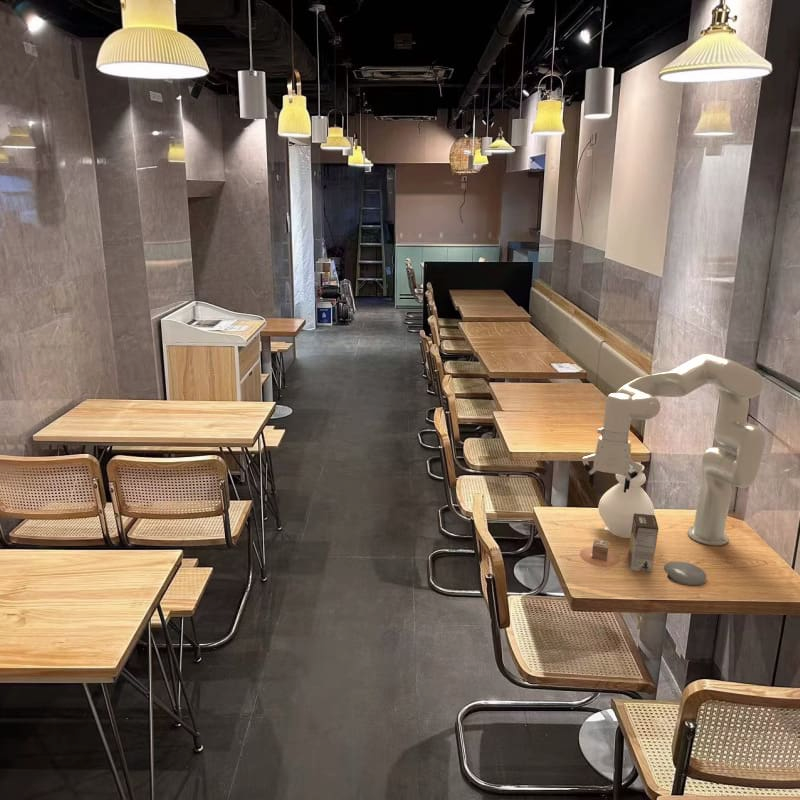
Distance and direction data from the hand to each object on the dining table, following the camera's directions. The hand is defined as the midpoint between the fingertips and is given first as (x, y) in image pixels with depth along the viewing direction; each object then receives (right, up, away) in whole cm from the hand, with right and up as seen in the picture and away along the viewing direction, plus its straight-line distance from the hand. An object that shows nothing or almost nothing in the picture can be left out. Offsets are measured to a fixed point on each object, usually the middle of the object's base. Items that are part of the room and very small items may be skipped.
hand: (608, 488), depth 210 cm
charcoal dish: (+23, -26, 0) cm, 35 cm away
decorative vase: (+12, -19, +24) cm, 33 cm away
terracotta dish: (-1, -23, +7) cm, 24 cm away
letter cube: (-1, -22, +7) cm, 23 cm away
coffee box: (+10, -25, +3) cm, 27 cm away
